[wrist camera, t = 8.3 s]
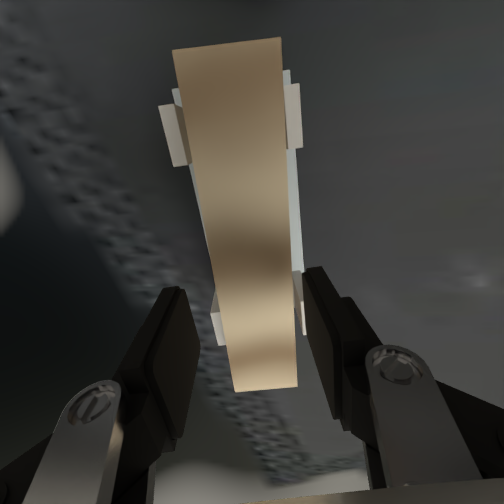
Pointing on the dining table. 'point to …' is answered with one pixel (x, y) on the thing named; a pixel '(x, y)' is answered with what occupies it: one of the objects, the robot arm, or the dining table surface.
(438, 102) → the dining table surface
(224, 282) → the rail
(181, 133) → the cradle
